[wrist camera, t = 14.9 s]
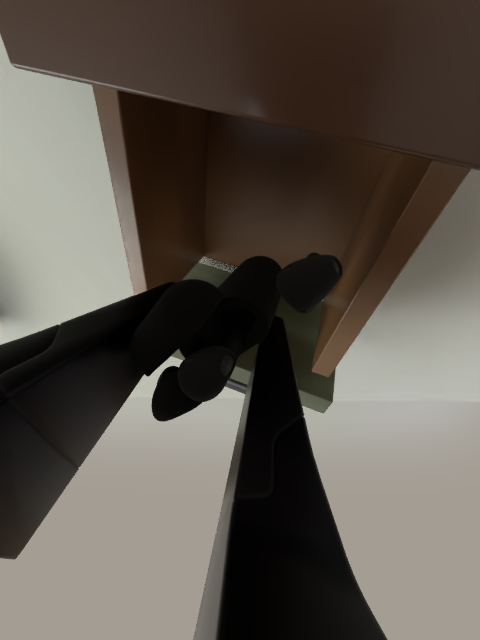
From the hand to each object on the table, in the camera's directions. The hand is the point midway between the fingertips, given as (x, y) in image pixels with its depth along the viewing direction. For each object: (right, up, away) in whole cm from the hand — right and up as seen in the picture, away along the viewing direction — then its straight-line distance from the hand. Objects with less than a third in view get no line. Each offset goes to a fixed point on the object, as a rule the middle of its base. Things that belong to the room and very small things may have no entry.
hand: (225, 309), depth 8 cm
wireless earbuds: (0, +1, +1) cm, 2 cm away
